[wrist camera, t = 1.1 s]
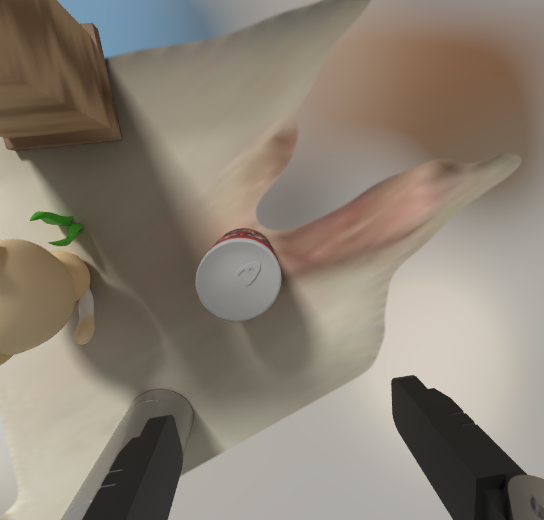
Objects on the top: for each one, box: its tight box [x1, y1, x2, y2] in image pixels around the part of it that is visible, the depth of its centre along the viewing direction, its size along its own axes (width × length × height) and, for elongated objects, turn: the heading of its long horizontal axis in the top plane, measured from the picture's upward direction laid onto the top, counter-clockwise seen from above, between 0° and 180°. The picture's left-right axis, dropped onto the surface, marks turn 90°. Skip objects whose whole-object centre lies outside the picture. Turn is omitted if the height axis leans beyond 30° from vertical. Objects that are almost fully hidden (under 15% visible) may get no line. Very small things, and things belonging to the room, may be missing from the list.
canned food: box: [195, 228, 281, 322], centre depth 29 cm, size 8×8×11 cm
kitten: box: [0, 212, 95, 365], centre depth 25 cm, size 15×10×15 cm
